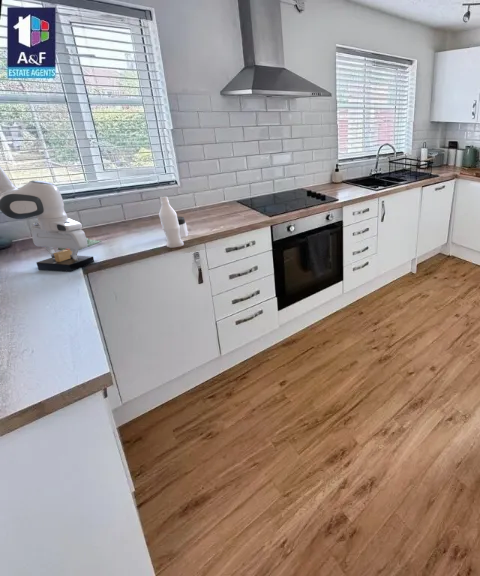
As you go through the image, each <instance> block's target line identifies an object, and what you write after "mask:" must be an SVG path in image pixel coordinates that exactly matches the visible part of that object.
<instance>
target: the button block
mask: <svg viewBox="0 0 480 576" xmlns="http://www.w3.org/2000/svg"><path fill="white" fill-rule="evenodd" d="M86 239H87V243H88V245H87V247H86V248H88V247H91V246H94V245H96V244H98V243H101V242H102V240H97V239H89V238H88V237H86ZM57 249H58V250H61V251H62V250H65V249H66V248H57ZM83 249H85V248H83ZM83 249H78V251H81V250H83Z"/></svg>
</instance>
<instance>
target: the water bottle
mask: <svg viewBox="0 0 480 576" xmlns="http://www.w3.org/2000/svg"><path fill="white" fill-rule="evenodd" d="M159 200H160V203H159V204H160V209H159V213H158V217H159V220H160V224H161V229H162V231H163V232H164V234H165V237H166V247H167V248H170V249H175V248H180V247H182V246H184V245H185V244H184V241H183V240H182V238H180V233H179V231H180V226H179V223H178V218H177V217H178V214H177V212H176V211H175V209H174V208H173V207H172V206H171V204H170V201H169V197H168V196H167V195H166V196H160V197H159Z"/></svg>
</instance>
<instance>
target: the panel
mask: <svg viewBox="0 0 480 576" xmlns="http://www.w3.org/2000/svg"><path fill="white" fill-rule="evenodd" d="M77 256H78V258H77V259H71V258H70V259H67V260H64V261H61V262H56V260H55V258H52V257H49V258H46V259H43V260H40V261H36V262H35V263H36V266H37V269H38V270H39V271H49V272H50V271H52V272H64V273H65V272H66V273H73V272H75V271H77V270H79V269H82V268H84V267H86V266H88V265H90V264H93V263H95V259H94V256H88V255H77Z"/></svg>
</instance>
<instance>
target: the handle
mask: <svg viewBox="0 0 480 576" xmlns="http://www.w3.org/2000/svg"><path fill="white" fill-rule="evenodd" d="M55 252H56V253H53V254H54V257H55V260H56V262H61V261H64V260H67V259H70V258H71V257H70V255H72V251H71V250H70V249H65V250H62V249H61V250H59V251H55Z"/></svg>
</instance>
